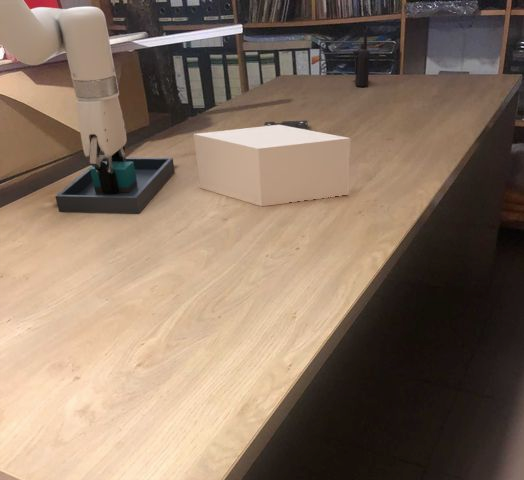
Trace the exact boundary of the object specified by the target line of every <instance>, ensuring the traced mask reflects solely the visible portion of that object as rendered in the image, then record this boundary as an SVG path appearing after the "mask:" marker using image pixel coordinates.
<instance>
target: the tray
mask: <svg viewBox="0 0 524 480" xmlns="http://www.w3.org/2000/svg"><path fill="white" fill-rule="evenodd" d="M101 161H106V160H101ZM126 162H134V168H135V173H136V179H137V185H136V186H135V187H134V188H133V189H132V190H131V191H130V192H129V193H120V192H118V193H117V194H104V193H103V192H95V189H94V184H93V180H92V175H91V171H90V169H91V168H92V167H93V166H92V165H90V167H88V168H87V169H86V170H85V171H83V172H82V173H81V174H80V175H79V176H78V177H76V178H75V179H74V180H73V181H72V182H70V183H69V184H68V185H66V186H65V187H64V188H63V189H62V190H61V191H59V192H58V193H57V194H55V195H54V196H55V201H56V206H57V209H58V212H60V213H92V214H93V213H95V214H96V213H98V214H101V213H102V214H131V215H133V214H135V215H136V214H137V215H139V214H140V213H141V212H142V211H143V210H144V208H146V206H147V205H148V204H149V203H150V202H151V200H152V199H153V198H154V197H155V196H156V195H157V194H158V192H159V191H160V190H161V189H162V188H163V187H164V185H165V184H166V183H167V182H168V181H169V180H170V179H171V177H173V175H174V174H175V173H176V172H175V164H174V158H173V157H126Z"/></svg>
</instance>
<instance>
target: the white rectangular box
mask: <svg viewBox="0 0 524 480" xmlns="http://www.w3.org/2000/svg"><path fill="white" fill-rule="evenodd" d="M193 142H194V150H195V151H194V152H195V157H196V159H195V160H196V167H197V168H196V169H197V176H198V184H199V188H200V189H203V190H205V191H209V192H211V193H216V194H218V195H222V196H224V197H225V196H226V197H229V198H233V199H235V200H239V201H243V202H246V203H248V204H252V205H256V206H259V207H267V206H276V205H283V204H290V203H289V202H292V203H298V202H297V201H300V202H305V201H304V200H308V201H314V200H313V199H316V200H322V198H324V199H329V198H330V197H331V198H336V197H335V196H339V197H343V196H342V195H347V196H349V195H350V194H349V193H350V163H351V161H350V160H351V137H346V136H341V135H335V134H330V133H325V132H321V131H314V130H310V129H308V130H305V129H299V128H294V127H289V126H284V125H272V126H264V125H263V126H255V127H254V126H253V127H245V128H236V129H225V130H217V131H208V132H199V133H193ZM328 197H329V198H328ZM331 198H330V199H331Z"/></svg>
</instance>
